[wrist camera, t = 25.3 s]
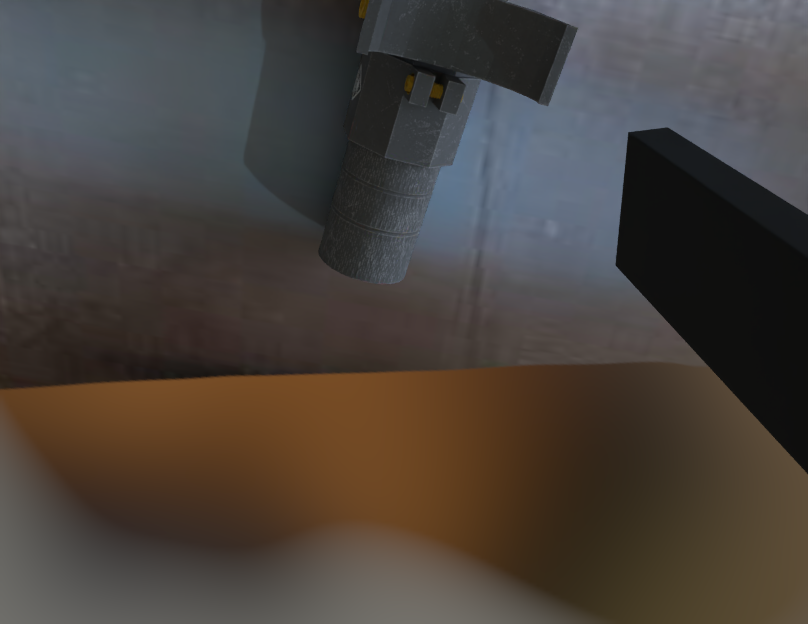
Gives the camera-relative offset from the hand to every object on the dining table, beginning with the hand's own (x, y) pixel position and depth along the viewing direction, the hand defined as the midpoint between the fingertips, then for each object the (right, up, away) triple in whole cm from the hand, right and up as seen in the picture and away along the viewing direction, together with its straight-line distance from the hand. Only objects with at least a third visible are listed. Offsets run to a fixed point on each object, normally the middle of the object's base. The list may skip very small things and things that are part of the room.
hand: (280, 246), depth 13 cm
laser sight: (+2, +13, +31) cm, 34 cm away
